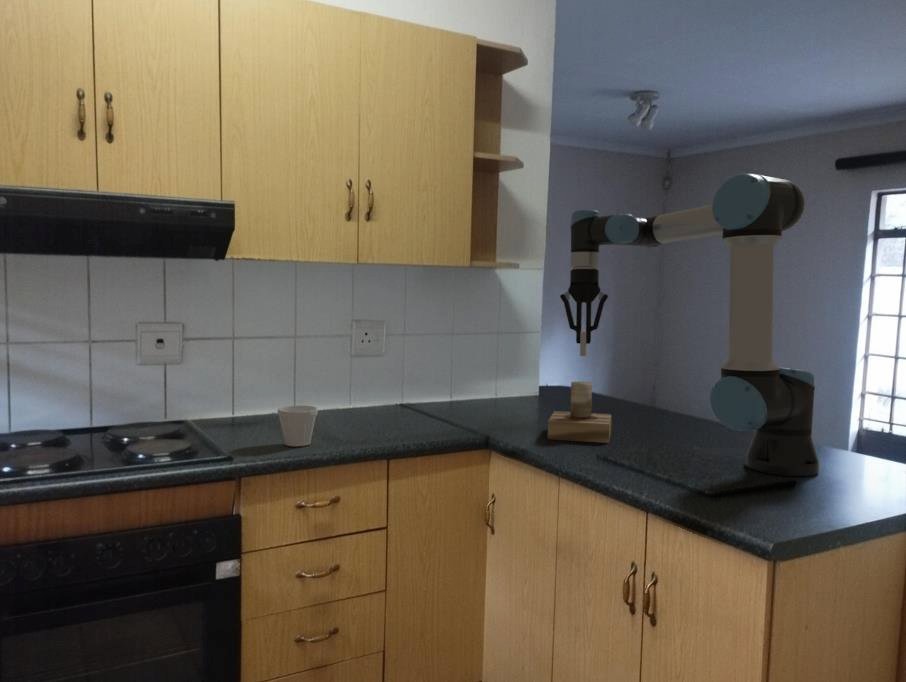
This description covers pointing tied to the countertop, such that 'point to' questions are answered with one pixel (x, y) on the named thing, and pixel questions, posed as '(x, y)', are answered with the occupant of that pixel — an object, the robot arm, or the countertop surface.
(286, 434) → the cup
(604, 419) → the block
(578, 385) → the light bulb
